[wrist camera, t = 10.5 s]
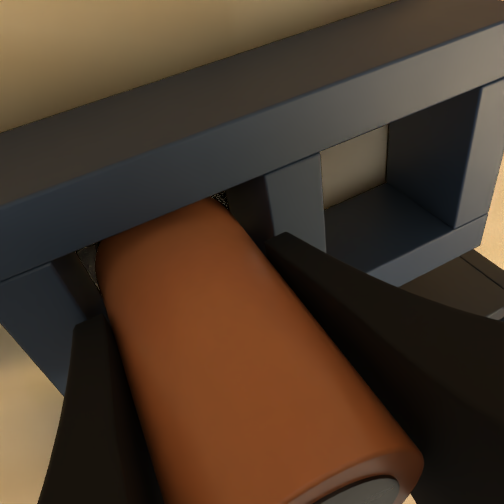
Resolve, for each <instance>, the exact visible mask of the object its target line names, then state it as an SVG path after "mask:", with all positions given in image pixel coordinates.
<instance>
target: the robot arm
mask: <svg viewBox="0 0 504 504" xmlns="http://www.w3.org/2000/svg"><path fill="white" fill-rule="evenodd" d="M264 244H265V250H266V255H267V259H268V260H269V261H270V263H271V264H272V265H273V266H274V268H275V269H276V270H277V271H278V273H279V274H280V275H281V277H282V278H283V279H284V280H285V282H286V283H287V284H288V285H289V287H290V288H291V289H292V290H293V292H294V293H295V294H296V295H297V297H298V298H299V299H300V300H301V302H302V303H303V304H304V305H305V307H306V308H307V309H308V310H309V312H310V313H311V314H312V315H313V317H314V318H315V319H316V321H317V322H318V323H319V324H320V326H321V327H322V328H323V329H324V331H325V332H326V333H327V334H328V336H329V337H330V338H331V339H332V341H333V342H334V343H335V344H336V346H337V347H338V348H339V349H340V351H341V352H342V353H343V354H344V356H345V357H346V358H347V360H348V361H349V362H350V363H351V365H352V366H353V367H354V368H355V370H356V371H357V372H358V373H359V375H360V376H361V377H362V378H363V380H364V381H365V382H366V383H367V385H368V386H369V387H370V388H371V390H372V391H373V392H374V393H375V395H376V396H377V397H378V398H379V400H380V401H381V402H382V404H383V405H384V406H385V407H386V409H387V410H388V411H389V412H390V414H391V415H392V416H393V417H394V419H395V420H396V421H397V422H398V424H399V425H400V426H401V427H402V429H403V430H404V431H405V432H406V434H407V435H408V436H409V437H410V439H411V440H412V441H413V442H414V444H415V445H416V446H417V448H418V449H419V450H420V452H421V453H422V455H423V458H424V468H423V471H422V474H421V476H420V478H419V480H418V482H417V484H416V486H415V487H414V489H413V490H412V492H411V495H412V497H413V498H414V500H415V502H416V503H417V504H504V322H503V321H499V320H495V319H491V318H488V317H484V316H480V315H477V314H473V313H469V312H466V311H463V310H459V309H456V308H453V307H450V306H447V305H444V304H441V303H438V302H435V301H432V300H429V299H427V298H424V297H421V296H418V295H416V294H413V293H410V292H408V291H405V290H403V289H401V288H398V287H396V286H394V285H391V284H389V283H387V282H384V281H382V280H380V279H378V278H375V277H373V276H371V275H369V274H367V273H365V272H363V271H361V270H359V269H356V268H354V267H352V266H350V265H348V264H346V263H344V262H342V261H340V260H338V259H336V258H335V257H333V256H331V255H329V254H327V253H325V252H323V251H321V250H320V249H318V248H316V247H314V246H312V245H310V244H309V243H307V242H305V241H303V240H301V239H300V238H298V237H296V236H294V235H292V234H290V233H288V232H284V233H281V234H279V235H277V236H275V237H272V238H270V239H268V240H266V241H264ZM37 504H164V501H163V498H162V494H161V491H160V488H159V484H158V481H157V478H156V474H155V471H154V468H153V464H152V461H151V458H150V454H149V451H148V448H147V444H146V441H145V438H144V434H143V431H142V428H141V424H140V421H139V418H138V414H137V411H136V408H135V404H134V401H133V398H132V394H131V391H130V388H129V384H128V381H127V377H126V374H125V370H124V367H123V363H122V360H121V357H120V353H119V350H118V347H117V343H116V340H115V337H114V333H113V330H112V328H111V326H110V325H109V323H108V321H107V320H106V318H105V316H104V315H103V313H101V314H99V315H97V316H94V317H92V318H90V319H88V320H85V321H83V322H81V323H79V324H76V325H75V327H74V329H73V335H72V347H71V357H70V365H69V371H68V378H67V385H66V390H65V395H64V401H63V406H62V411H61V416H60V421H59V426H58V430H57V434H56V438H55V442H54V446H53V450H52V454H51V458H50V462H49V466H48V470H47V473H46V477H45V480H44V484H43V487H42V490H41V494H40V497H39V500H38V503H37Z"/></svg>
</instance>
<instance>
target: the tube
mask: <svg viewBox="0 0 504 504" xmlns="http://www.w3.org/2000/svg"><path fill="white" fill-rule="evenodd" d="M95 272H96V277H97V281H98V284H99V287H100V291H101V294H102V297H103V301H104V304H105V307H106V311H107V314H108V317H109V321H110V324H111V328H112V330H113V333H114V337H115V340H116V343H117V347H118V350H119V353H120V357H121V360H122V363H123V367H124V370H125V374H126V377H127V381H128V384H129V388H130V391H131V394H132V398H133V401H134V404H135V408H136V411H137V414H138V418H139V421H140V424H141V428H142V431H143V434H144V438H145V441H146V444H147V448H148V451H149V454H150V458H151V461H152V464H153V468H154V471H155V474H156V478H157V481H158V484H159V488H160V491H161V494H162V498H163V501H164V504H402V503H403V502H404V501H405V499H406V498H407V497H408V496H409V494H410V493H411V492H412V490H413V489H414V487H415V486H416V484H417V482H418V480H419V478H420V476H421V474H422V471H423V468H424V458H423V455H422V453H421V452H420V450H419V449H418V448H417V446H416V445H415V444H414V442H413V441H412V440H411V439H410V437H409V436H408V435H407V434H406V432H405V431H404V430H403V429H402V427H401V426H400V425H399V424H398V422H397V421H396V420H395V419H394V417H393V416H392V415H391V414H390V412H389V411H388V410H387V409H386V407H385V406H384V405H383V404H382V402H381V401H380V400H379V398H378V397H377V396H376V395H375V393H374V392H373V391H372V390H371V388H370V387H369V386H368V385H367V383H366V382H365V381H364V380H363V378H362V377H361V376H360V375H359V373H358V372H357V371H356V370H355V368H354V367H353V366H352V365H351V363H350V362H349V361H348V360H347V358H346V357H345V356H344V354H343V353H342V352H341V351H340V349H339V348H338V347H337V346H336V344H335V343H334V342H333V341H332V339H331V338H330V337H329V336H328V334H327V333H326V332H325V331H324V329H323V328H322V327H321V326H320V324H319V323H318V322H317V321H316V319H315V318H314V317H313V315H312V314H311V313H310V312H309V310H308V309H307V308H306V307H305V305H304V304H303V303H302V302H301V300H300V299H299V298H298V297H297V295H296V294H295V293H294V292H293V290H292V289H291V288H290V287H289V285H288V284H287V283H286V282H285V280H284V279H283V278H282V277H281V275H280V274H279V273H278V271H277V270H276V269H275V268H274V266H273V265H272V264H271V263H270V261H269V260H268V259H267V258H266V256H265V255H264V254H263V253H262V251H261V250H260V249H259V248H258V246H257V245H256V244H255V243H254V241H253V240H252V239H251V238H250V236H249V235H248V234H247V233H246V231H245V230H244V229H243V227H242V226H241V225H240V224H239V222H238V221H237V220H236V219H235V217H234V216H233V215H232V214H231V212H230V211H229V210H228V209H227V208H226V207H225V206H224V205H223V204H222V203H220V202H219V201H217V200H216V199H213V198H211V197H207V198H205V199H202V200H200V201H197V202H195V203H192V204H190V205H187V206H185V207H182V208H180V209H178V210H175V211H173V212H170V213H168V214H165V215H163V216H160V217H158V218H155V219H153V220H150V221H148V222H146V223H143V224H141V225H138V226H136V227H133V228H131V229H128V230H126V231H123V232H121V233H119V234H116V235H114V236H111V237H109V238H106V239H104V240H101V242H100V245H99V247H98V250H97V254H96V260H95Z"/></svg>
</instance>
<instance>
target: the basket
mask: <svg viewBox="0 0 504 504" xmlns="http://www.w3.org/2000/svg"><path fill="white" fill-rule="evenodd" d="M398 288H401V289H403V290H405V291H408V292H410V293H413V294H416V295H418V296H421V297H424V298H427V299H429V300H432V301H435V302H438V303H441V304H444V305H447V306H450V307H453V308H456V309H459V310H463V311H466V312H469V313H473V314H477V315H480V316H484V317H488V318H491V319H495V320H499V321H503V322H504V270H502V269H501V268H499V267H498V266H497V265H495V264H494V263H492V262H491V261H490V260H488V259H487V258H485V257H484V256H482V255H481V254H480V253H478V252H477V251H475V250H474V249H472V250H470V251H468V252H466V253H464V254H462V255H460V256H458V257H456V258H454V259H452V260H450V261H448V262H446V263H445V264H443V265H441V266H439V267H437V268H435V269H433V270H431V271H429V272H427V273H425V274H423V275H421V276H419V277H417V278H415V279H413V280H411V281H409V282H407V283H405V284H403V285H401V286H399V287H398Z"/></svg>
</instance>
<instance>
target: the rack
mask: <svg viewBox="0 0 504 504" xmlns="http://www.w3.org/2000/svg"><path fill="white" fill-rule="evenodd" d="M387 124H389V140H388V158H387V176H386V182H387V183H385V184H382V185H380V186H378V187H376V188H373V189H371V190H369V191H367V192H364V193H362V194H360V195H357V196H355V197H353V198H351V199H348V200H346V201H344V202H342V203H339V204H337V205H335V206H333V207H330V208H328V209H326V210H324V206H323V189H322V173H321V157H320V153H319V152H320V151H323V150H325V149H328V148H330V147H333V146H335V145H337V144H340V143H342V142H345V141H347V140H350V139H352V138H355V137H357V136H360V135H362V134H365V133H367V132H369V131H372V130H374V129H377V128H379V127H382V126H384V125H387ZM503 153H504V1H501V0H399V1H396V2H393V3H390V4H387V5H384V6H381V7H378V8H375V9H372V10H369V11H366V12H363V13H360V14H357V15H354V16H351V17H348V18H345V19H342V20H339V21H336V22H333V23H330V24H327V25H324V26H321V27H318V28H315V29H312V30H309V31H306V32H303V33H300V34H297V35H294V36H291V37H288V38H285V39H282V40H279V41H276V42H273V43H270V44H267V45H264V46H261V47H258V48H255V49H252V50H249V51H246V52H243V53H240V54H237V55H234V56H231V57H228V58H225V59H222V60H219V61H216V62H213V63H210V64H207V65H204V66H201V67H198V68H195V69H192V70H189V71H186V72H183V73H180V74H177V75H174V76H171V77H168V78H165V79H162V80H159V81H156V82H153V83H150V84H147V85H144V86H141V87H138V88H135V89H132V90H129V91H126V92H123V93H120V94H117V95H114V96H110V97H107V98H104V99H101V100H98V101H95V102H92V103H89V104H86V105H83V106H80V107H77V108H74V109H71V110H68V111H65V112H62V113H59V114H56V115H53V116H50V117H47V118H44V119H41V120H38V121H35V122H32V123H29V124H26V125H23V126H20V127H17V128H14V129H11V130H8V131H5V132H2V133H0V323H1V325H2V326H3V327H4V328H5V329H6V330H7V331H8V333H9V334H10V335H11V336H12V337H13V338H14V340H15V341H16V342H17V343H18V344H19V345H20V346H21V348H22V349H23V350H24V351H25V352H26V353H27V355H28V356H29V357H30V358H31V359H32V360H33V362H34V363H35V364H36V365H37V366H38V367H39V368H40V370H41V371H42V372H43V373H44V374H45V375H46V377H47V378H48V379H49V380H50V381H51V382H52V383H53V385H54V386H55V387H56V388H57V389H58V390H59V392H60V393H61V394H62V395H63V396H64V395H65V390H66V385H67V378H68V371H69V365H70V357H71V347H72V335H73V329H74V327H75V325H76V324H79V323H81V322H83V321H85V320H88V319H90V318H92V317H94V316H97V315H99V314H101V313H103V315H104V316H105V318H106V320H107V321H108V323H109V325H110V326H111V324H110V321H109V317H108V314H107V311H106V307H105V304H104V301H103V299H102V297H101V295H100V293H99V292H98V290H97V288H96V287H95V285H94V283H93V281H92V280H91V278H90V276H89V274H88V273H87V271H86V269H85V268H84V266H83V264H82V262H81V261H80V259H79V257H78V256H77V254H76V252H75V251H77V250H79V249H82V248H84V247H87V246H89V245H91V244H94V243H96V242H99V241H101V240H104V239H106V238H109V237H111V236H114V235H116V234H119V233H121V232H123V231H126V230H128V229H131V228H133V227H136V226H138V225H141V224H143V223H146V222H148V221H150V220H153V219H155V218H158V217H160V216H163V215H165V214H168V213H170V212H173V211H175V210H178V209H180V208H182V207H185V206H187V205H190V204H192V203H195V202H197V201H200V200H202V199H205V198H207V197H210V196H212V195H214V194H217V193H219V192H222V191H224V190H225V192H226V197H227V201H228V205H229V209H230V212H231V214H232V215H233V216H234V217H235V219H236V220H237V221H238V222H239V224H240V225H241V226H242V227H243V229H244V230H245V231H246V233H247V234H248V235H249V236H250V238H251V239H252V240H253V241H254V243H255V244H256V245H257V246H258V248H259V249H260V250H261V251H262V253H263V254H264V255H265V256H266V258H267V255H266V250H265V244H264V241H266V240H268V239H270V238H272V237H275V236H277V235H279V234H281V233H284V232H288V233H290V234H292V235H294V236H296V237H298V238H300V239H301V240H303V241H305V242H307V243H309V244H310V245H312V246H314V247H316V248H318V249H320V250H321V251H323V252H325V253H327V254H329V255H331V256H333V257H335V258H336V259H338V260H340V261H342V262H344V263H346V264H348V265H350V266H352V267H354V268H356V269H359V270H361V271H363V272H365V273H367V274H369V275H371V276H373V277H375V278H378V279H380V280H382V281H384V282H387V283H389V284H391V285H394V286H396V287H399V286H401V285H403V284H405V283H407V282H409V281H411V280H413V279H415V278H417V277H419V276H421V275H423V274H425V273H427V272H429V271H431V270H433V269H435V268H437V267H439V266H441V265H443V264H445V263H446V262H448V261H450V260H452V259H454V258H456V257H458V256H460V255H462V254H464V253H466V252H468V251H470V250H472V249H474V248H476V247H478V246H479V245H480V244H481V240H482V236H483V232H484V228H485V224H486V220H487V216H488V211H489V208H490V204H491V200H492V196H493V192H494V188H495V184H496V180H497V176H498V172H499V168H500V165H501V161H502V157H503Z"/></svg>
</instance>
